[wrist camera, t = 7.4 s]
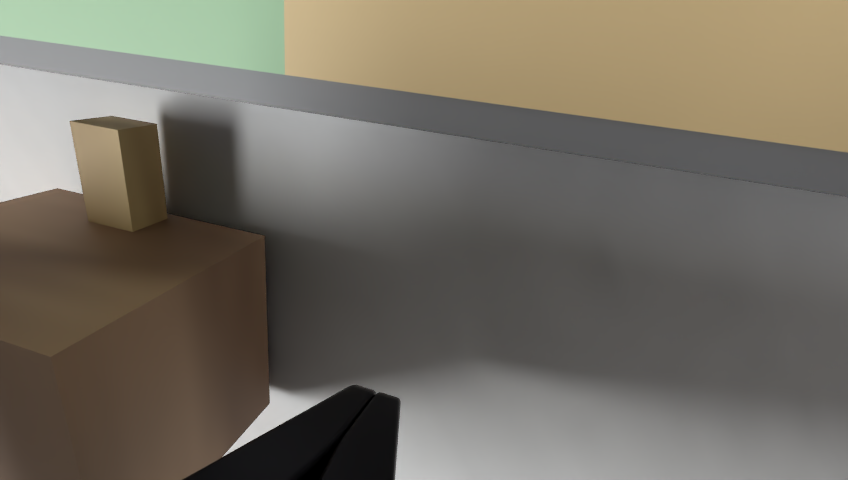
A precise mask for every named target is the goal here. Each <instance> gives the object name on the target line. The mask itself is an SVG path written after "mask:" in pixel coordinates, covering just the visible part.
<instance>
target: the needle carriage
mask: <svg viewBox="0 0 848 480" xmlns="http://www.w3.org/2000/svg"><path fill="white" fill-rule="evenodd" d="M70 125H71V131H72V136H73V142H74V147H75V152H76V158H77V163H78V169H79V174H80V179H81V185H82V190H83V194H80V193H75V192H71V191H66V190H62V189H58V188H57V189H53V190H49V191H45V192H41V193H37V194H33V195H29V196H25V197H21V198H17V199H13V200H9V201H5V202H1V203H0V480H182V479H184V478H186V477H188V476H190V475H191V474H193V473H195V472H197V471H198V470H200V469H202V468H204V467H206V466H207V465H209V464H211V463H213V462H215V461H216V460H218V459H220V458H222V456H223V455H224V454H225V453H226V452H227V451H228V450H229V449H230V447H231V446H232V445H233V444H234V443H235V442H236V441H237V439H238V438H239V437H240V436H241V435H242V434H243V433H244V432H245V430H246V429H247V428H248V427H249V426H250V425H251V424H252V423H253V421H254V420H255V419H256V418H257V417H258V416H259V415H260V414H261V412H262V411H263V410H264V409H265V408H266V407H267V406H268V405H269V403H270V399H269V366H268V333H267V300H266V266H265V236H263V235H259V234H255V233H250V232H246V231H241V230H237V229H233V228H228V227H224V226H220V225H215V224H211V223H206V222H202V221H198V220H193V219H189V218H185V217H180V216H176V215H171V214H167V208H166V199H165V191H164V182H163V173H162V165H161V156H160V147H159V139H158V130H157V124H154V123H148V122H143V121H137V120H131V119H126V118H120V117H114V116H108V117H100V118H91V119H83V120H75V121H70Z"/></svg>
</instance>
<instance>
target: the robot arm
mask: <svg viewBox="0 0 848 480" xmlns="http://www.w3.org/2000/svg"><path fill="white" fill-rule="evenodd" d="M400 404H401V401H400V399H399V398H398V397H394V396H391V395H388V394H385V393H381V392H379V393H377V394H376V392H375V391H374V390H371V389H368V388H365V387H361V386H358V385H352V386H349V387H347V388H345V389H344V390H342V391H340V392H338V393H336V394H335V395H333V396H331V397H329V398H327V399H326V400H324V401H322V402H320V403H319V404H317V405H315V406H313V407H311V408H310V409H308V410H306V411H304V412H302V413H301V414H299V415H297V416H295V417H293V418H292V419H290V420H288V421H286V422H284V423H283V424H281V425H279V426H277V427H276V428H274V429H272V430H270V431H268V432H267V433H265V434H263V435H261V436H259V437H258V438H256V439H254V440H252V441H250V442H249V443H247V444H245V445H243V446H241V447H240V448H238V449H236V450H234V451H233V452H231V453H229V454H227V455H225V456H224V457H222V458H220V459H218V460H216V461H215V462H213V463H211V464H209V465H207V466H206V467H204V468H202V469H200V470H198V471H197V472H195V473H193V474H191V475H190V476H188V477H186V478H184V479H182V480H395V471H396V457H397V444H398V431H399V418H400Z"/></svg>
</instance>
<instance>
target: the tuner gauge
mask: <svg viewBox="0 0 848 480" xmlns="http://www.w3.org/2000/svg"><path fill="white" fill-rule="evenodd" d="M0 64H2V65H8V66H14V67H21V68H27V69H33V70H40V71H46V72H53V73H59V74H65V75H72V76H78V77H85V78H91V79H97V80H104V81H110V82H117V83H123V84H129V85H136V86H142V87H148V88H155V89H161V90H168V91H174V92H180V93H187V94H193V95H200V96H206V97H212V98H219V99H225V100H232V101H238V102H244V103H251V104H257V105H263V106H270V107H276V108H283V109H289V110H295V111H302V112H308V113H315V114H321V115H327V116H334V117H340V118H347V119H353V120H359V121H366V122H372V123H378V124H385V125H391V126H398V127H404V128H410V129H417V130H423V131H430V132H436V133H442V134H449V135H455V136H462V137H468V138H474V139H481V140H487V141H494V142H500V143H506V144H513V145H519V146H525V147H532V148H538V149H545V150H551V151H557V152H564V153H570V154H577V155H583V156H589V157H596V158H602V159H609V160H615V161H621V162H628V163H634V164H640V165H647V166H653V167H660V168H666V169H672V170H679V171H685V172H692V173H698V174H704V175H711V176H717V177H724V178H730V179H736V180H743V181H749V182H755V183H762V184H768V185H775V186H781V187H787V188H794V189H800V190H807V191H813V192H819V193H826V194H832V195H839V196H845V197H848V0H0Z"/></svg>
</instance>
